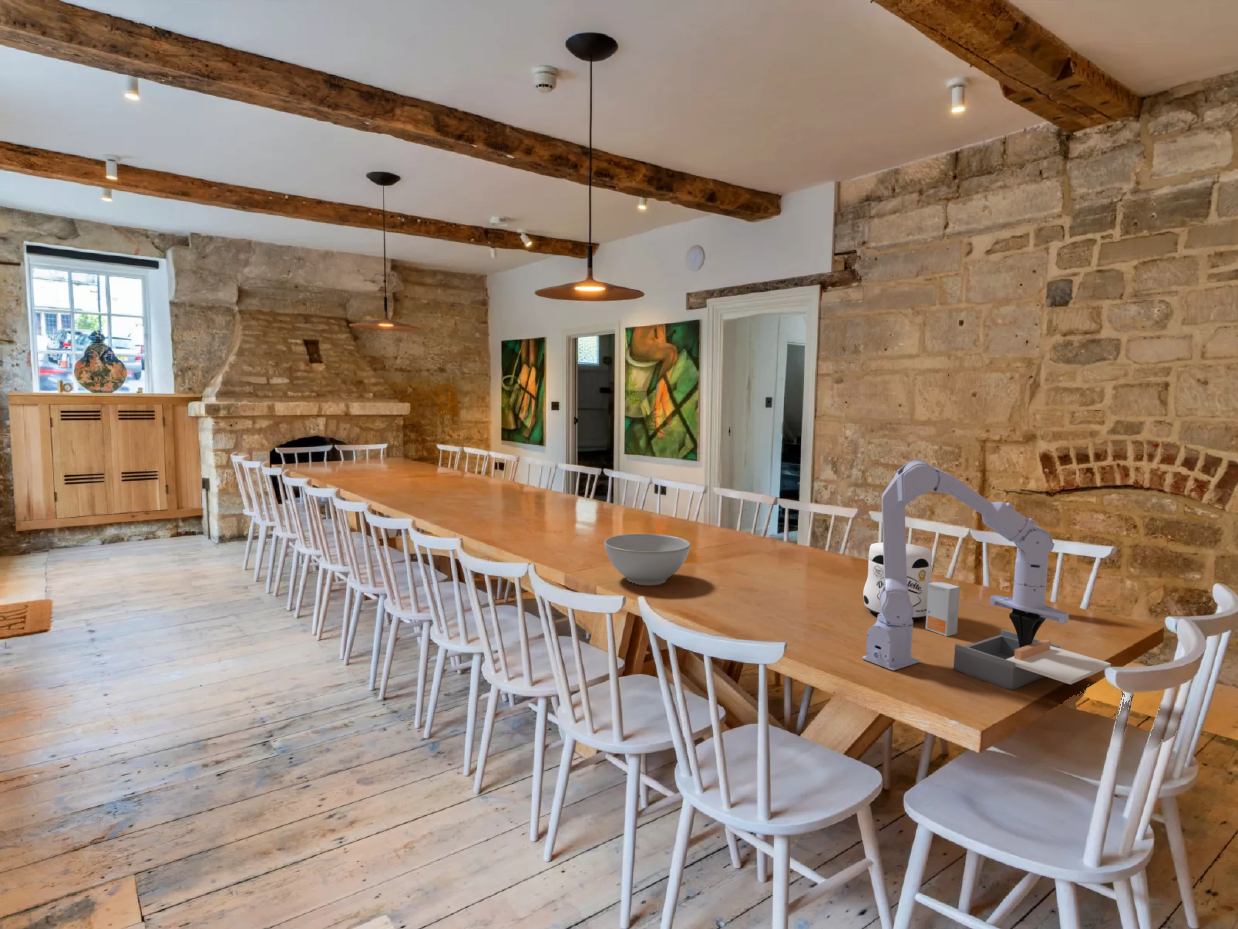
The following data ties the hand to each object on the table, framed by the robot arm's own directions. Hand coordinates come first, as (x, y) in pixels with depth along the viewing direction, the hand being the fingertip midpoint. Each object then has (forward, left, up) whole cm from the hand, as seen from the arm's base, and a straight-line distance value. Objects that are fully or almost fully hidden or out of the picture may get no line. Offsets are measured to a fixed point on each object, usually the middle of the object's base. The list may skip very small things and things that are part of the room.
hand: (1025, 647), depth 141 cm
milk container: (+14, +40, -6) cm, 42 cm away
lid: (0, -6, -1) cm, 6 cm away
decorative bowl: (-25, +101, -6) cm, 104 cm away
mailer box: (0, +4, -6) cm, 7 cm away
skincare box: (+11, +25, -6) cm, 28 cm away
